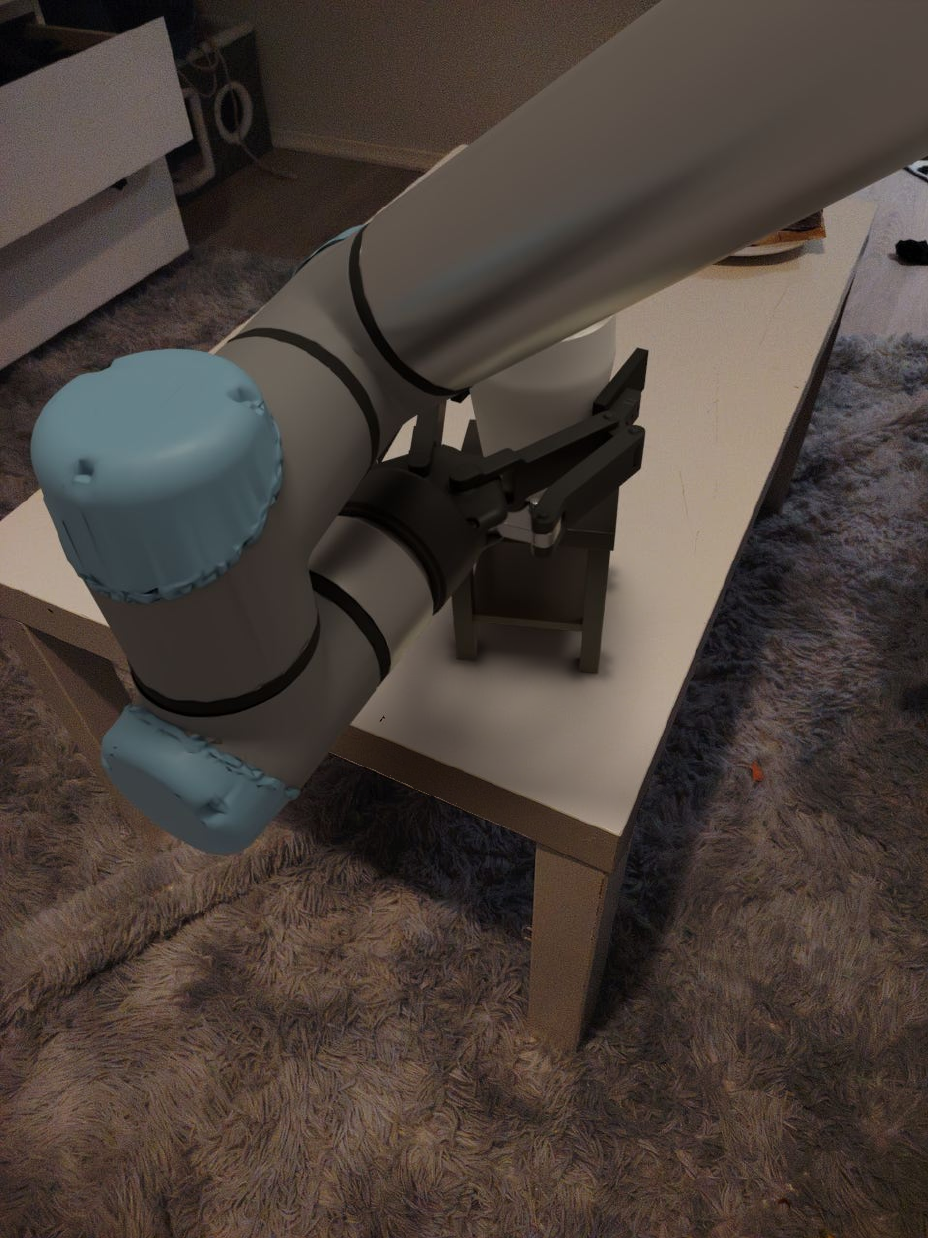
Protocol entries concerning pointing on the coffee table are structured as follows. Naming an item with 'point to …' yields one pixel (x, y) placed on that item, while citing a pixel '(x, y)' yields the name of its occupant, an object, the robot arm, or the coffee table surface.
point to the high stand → (540, 581)
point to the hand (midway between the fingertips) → (570, 350)
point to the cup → (545, 391)
